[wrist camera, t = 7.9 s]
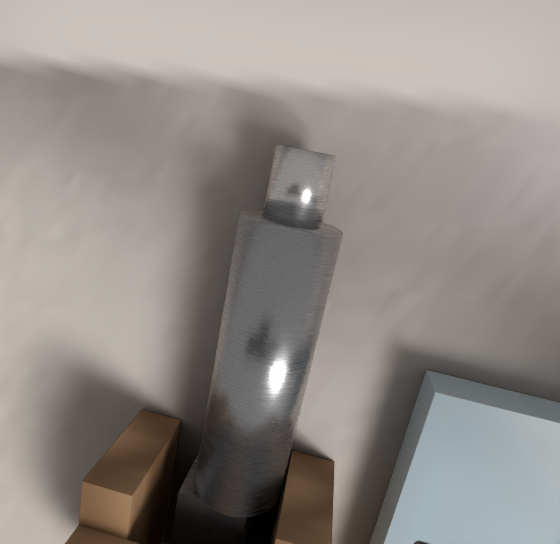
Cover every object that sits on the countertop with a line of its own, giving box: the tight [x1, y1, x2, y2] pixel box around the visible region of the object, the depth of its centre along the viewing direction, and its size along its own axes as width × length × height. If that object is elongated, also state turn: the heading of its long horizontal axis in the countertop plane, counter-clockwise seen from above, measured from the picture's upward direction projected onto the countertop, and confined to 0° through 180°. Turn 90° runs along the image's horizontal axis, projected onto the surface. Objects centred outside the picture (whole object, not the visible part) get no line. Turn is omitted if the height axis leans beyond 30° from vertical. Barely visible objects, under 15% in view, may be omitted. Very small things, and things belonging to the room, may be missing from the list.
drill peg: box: [195, 144, 343, 518], centre depth 15 cm, size 4×13×4 cm, turn 169°
